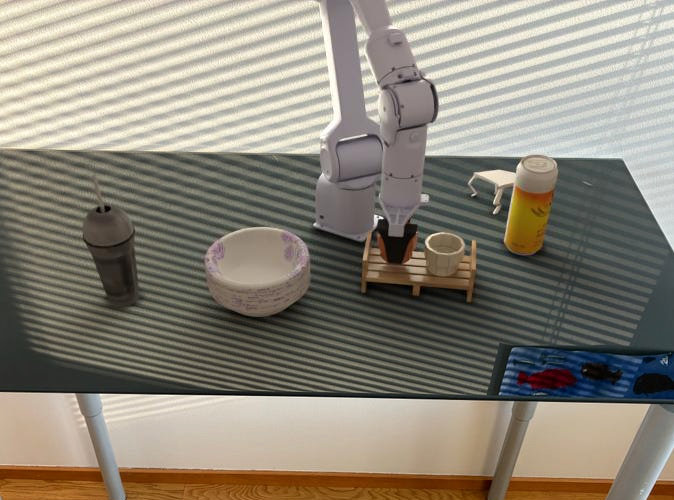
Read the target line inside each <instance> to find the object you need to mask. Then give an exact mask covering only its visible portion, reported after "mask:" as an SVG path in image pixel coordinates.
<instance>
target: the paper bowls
mask: <svg viewBox="0 0 674 500" xmlns="http://www.w3.org/2000/svg"><path fill="white" fill-rule="evenodd" d="M203 264H204V271H205V277H206V283H207V287H208V291H209V294H210V295H211V297H212V299H214V302H216V303H217V304H219V305H220V306H222V307H223V308H225V309H228V310H231V311H233V312H236V313H239V314H240V315H244V316H246V317H253V318H254V317H255V318H260V317H261V318H262V317H269V316H272V315H276V314H279V313H281V312H282V311H284V310H286V309H287V308H289V306H291V305H292V304H294V303H296V302H297V301H298V300H299V299H301V298H302V297H303V296H304V295H305V293H306V292H307V291H308V289H309V287H310V284H311V255H310V252H309V248H308V246H307V244H306V243H305V242H304V241H303V239H301V238H300V237H299V236H297V235H296V234H294V233H292V232H290V231H289V230H284V229H282V228H278V227H277V228H275V227H267V226H255V227H247V228H242V229H241V228H240V229H238V230H235V231H232V232H230V233H227V234H226V235H223V236H222V237H220V238H219V239H217V240H215V242H213V244H211V246H209V248H208V249H207V251H206V253H205V256H204V260H203Z"/></svg>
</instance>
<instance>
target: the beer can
mask: <svg viewBox="0 0 674 500" xmlns="http://www.w3.org/2000/svg"><path fill="white" fill-rule="evenodd" d="M515 173H516V175H515V181H514V186H512V187H513V188H512V191H511V197H510V198H511V199H510V203H509V208H508V215H507V216H508V217H507V220H506V226H505V233H504V237H503V242H504V245H505V246H506V248H507V249H508V251H510V252H511V253H512V254H514V255H519V256H531V255H533V254H536V253H537V252H538V251H540V250H541V249H542V247H543V243H544V240H545V236H546V235H545V234H546V231H547V225H548V220H549V217H550V212H551V207H552V203H553V198H554V193H555V190H556V185H557V179H558V175H559V169H558V163H557V162H556V160H554V158H552V157H550V156H548V155H544V154H528V155H526V156H523V157H522V158H521V159H520V162H519V163H518V164H517V166H516V170H515Z"/></svg>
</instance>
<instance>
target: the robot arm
mask: <svg viewBox="0 0 674 500" xmlns="http://www.w3.org/2000/svg"><path fill="white" fill-rule="evenodd" d="M313 1H314V2H316V3H318V7H319V12H320V19H321V24H322V33H323V40H324V47H325V54H326V63H327V71H328V78H329V84H330V86H329V87H330V93H331V99H332V100H331V101H332V108H333V109H332V110H333V116H334V118H333V119H332V121H331V122H330V123H329V124H328V125H327V126H326V127H325V129H323V131H322V132H321V133H320V135H319V146H320V151H319V162H320V168H321V174H320V176H319V177H318V180H317V183H316V186H315V194H314V195H315V197H314V198H315V201H314V202H315V222H314V223H313V228H315V229H318V230H321V231H324V232H327V233H331V234H334V235H336V236H339V237H342V238H346V239H349V240H353V241H356V242H359V243H364V242H366V240H367V234H368V232H372V233H373V232H374V231H375V230H377V234H378V233H379V234H380V236H381V238H382V240H383V243H384V246H385V252H386V258H387V262H388V263H394V264H402V262H403V259H404V256H405V253H406V250H407V247H408V244H409V242H410V241H411V239H412V238H413V237H414V236H415V234H416V232H418V228H419V227H418V226H419V225H418V224H417V223H411V220H412V218H413V215H414V214H416V212H417V211H418V209H419V208H420V207H428V206H429V205H430V196H429V194H426V193H422V190H423V179H424V171H425V159H426V150H427V149H426V148H427V140H428V129H429V126H428V125H429V124H433V123H434V122H436V120H437V118H438V115H439V110H440V100H439V94H438V90H437V88H436V84H435V82H434V81H433V79H431V77H429V76H428V75H426V72H425V71H424V70H419V67H418V65H417V62H416V59H415V56H414V54H413V52H412V48H411V47H410V44H409V41H408V39H407V35H406V34H405V32H404V31H403V30H402V29H400V28H398V27H395V26H394V25H393V22H392V17H391V15H390V11H389V7H388V3H387V0H313ZM355 14H356V15H355ZM356 16H357V19H358V21H359V24H360V25H361V28H362V29H363V32H364V33H365V35H366V37H367V40H366V42H365V44H364V48H363V53H364V55H365V58H366V62H367V63H368V66H369V70H370V72H371V74H372V77H373V80H374V83H375V85H376V88H377V92H378V94H379V95H378V98H377V100H376V104H377V105H376V107H377V114H378V118H379V122H377V121H376V120H374V119H373V118H371V117H370V116H368V115H367V110H366V109H367V108H366V101H365V100H366V99H365V93H364V84H363V75H362V74H363V73H362V67H361V57H360V51H359V42H358V32H357V25H356V23H357V22H356ZM378 181H380V192H379V194H378V203H379V206H380V208H381V209H382V211H383V214H384V216H385V218H384V217H383V216H381V215H378V214H375V209H376V208H375V207H376V191H377V190H376V189H377V182H378ZM406 222H408V223H410V224H406Z"/></svg>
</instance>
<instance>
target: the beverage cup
mask: <svg viewBox="0 0 674 500" xmlns="http://www.w3.org/2000/svg"><path fill="white" fill-rule="evenodd" d="M91 177H92V181H93V185H94V189H95V193H96V196H97V197H96V198H97V201H98V205H97V206H94V207H93V208H91V210H89V212H88V213H87V214H86V215H85V217H84V219H83V223H82V241H83V242H84V243H85V245H86V248H87V250H88V252H89V253H90V254H91V258H92V260H93V263H94V265H95V268H96V271H97V274H98V276H99V279H100V282H101V285H102V287H103V290H104V293H105V295H106V297H107V299H108V302H109V304H110V305H112V306H114V307H117V308H124V307H125V308H126V307H130V306H131V305H134V304H135V303H137V301H138V300H139V298H140V293H139V292H140V290H139V288H140V285H139V278H138V268H137V257H136V250H135V249H136V248H135V244H136V234H135V233H136V228H135V226H134V224H133V221H132V219H131V218H130V216H129V215H128V214H127V212H125V211H124V210H123V209H122V208H120V207H118V206H116V205H113V204H106V203H105V204H104V202H103V198H102V194H101V189H100V186H99V182H98V179H97V175H96V174H92V176H91Z"/></svg>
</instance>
